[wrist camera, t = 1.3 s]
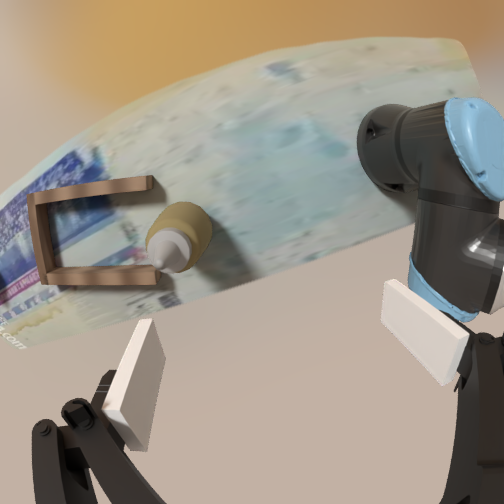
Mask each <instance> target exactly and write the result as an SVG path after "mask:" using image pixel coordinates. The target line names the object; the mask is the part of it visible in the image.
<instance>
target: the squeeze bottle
mask: <svg viewBox="0 0 504 504" xmlns="http://www.w3.org/2000/svg"><path fill="white" fill-rule="evenodd" d="M211 238H212V224H211V221H210V219H209V216H208V214H207V213H206V212H205V211H204V210H203V209H202V208H201V207H200V206H197V205H195V204H193V203H191V202H177V203H175V204H172V205H170V206H168V207H167V208H166V209H165V210H164V211H163V212H162V213H161V214H160V215H159V217H158V218H157V219H156V221H155V222H154V224H153V225H152V226H151V228H150V229H149V232H148V234H147V237H146V251H147V256H148V258H149V261H150V263H151V264H152V265H153V266H154V267H155V268H156V269H157V270H159V271H161V272H163V273H180V272H183V271H186V270H188V269H190V268H191V267H192V266H193V265H194V264H195V263H196V262H197V261H198V259H199V258H200V257H201V255H202V254H203V252H204V251H205V250H206V248H207V247H208V245H209V242H210V240H211Z"/></svg>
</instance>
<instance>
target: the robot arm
mask: <svg viewBox="0 0 504 504" xmlns="http://www.w3.org/2000/svg"><path fill="white" fill-rule="evenodd" d="M357 149H358V155H359V158H360V161H361V164H362V166H363V168H364V170H365V172H366V173H367V175H368V176H369V177H370V179H371V180H372V181H373V182H374V183H376V184H377V185H378V186H380V187H381V188H383V189H386V190H389V191H393V192H399V193H405V192H411V191H414V190H416V189H418V199H417V211H416V221H415V230H414V238H413V245H412V252H410V256H409V260H410V267H409V274H408V286H409V288H407V287H406V286H404V285H403V284H401V283H400V282H398V281H397V280H396V279H392V280H388V281H385V282H384V283H385V284H384V295H383V304H382V313H381V322H382V323H383V324H384V325H385V326H386V327H387V328H388V329H389V330H390V331H391V332H392V334H394V335H395V336H396V338H397V339H398V340H399V341H400V342H401V343H402V344H403V345H404V346H405V347H406V348H407V349H408V350H409V351H410V352H411V353H412V354H413V355H414V357H415V358H416V359H417V360H418V361H419V362H420V363H421V364H422V365H423V366H424V367H425V368H426V369H427V370H428V372H429V373H430V374H431V375H432V376H433V377H434V378H435V379H436V380H437V381H438V382H439V384H440V385H441V386H444V385H446V384H447V383H449V382H451V381H453V379H454V376H455V374H456V371H457V372H458V373H459V374H460V377H459V379H458V382H457V384H456V386H455V389H454V392H455V391H456V390H457V388H458V407H457V420H456V431H455V439H454V446H453V453H452V459H451V465H450V470H449V474H448V479H447V483H446V488H445V492H444V495H443V498H442V500H441V502H440V503H439V504H504V333H503V336H502V337H498V338H495V337H493V336H492V335H491V334H488V333H478V334H475V333H474V332H473V331H471V330H470V329H469V328H467V327H466V326H465V325H463V324H462V323H460V322H459V320H460V321H461V322H469V321H471V320H473V319H474V318H475V317H476V316H477V315H478V314H479V311H482V312H484V313H487V314H490V315H491V314H492V313H494V312H496V311H497V310H498V309H500V308H502V307H504V220H503V219H500V218H499V206H500V201H503V200H504V120H503V118H502V116H501V115H500V114H499V112H498V111H497V110H496V109H495V108H494V107H493V106H492V105H491V104H489V103H488V102H486V101H485V100H483V99H480V98H475V97H470V98H451V99H449V100H446V101H442V102H438V103H433V104H429V105H425V106H421V107H417V108H411V107H407V106H403V105H398V104H387V105H383V106H380V107H377V108H375V109H373V110H371V111H370V112H369V113H368V114H367V115H366V116H365V117H364V119H363V120H362V122H361V124H360V127H359V130H358V135H357ZM165 360H166V358H165V355H164V352H163V349H162V346H161V343H160V340H159V337H158V334H157V331H156V328H155V324H154V321H153V319H143V320H139V323H138V325H137V327H136V329H135V331H134V333H133V336H132V338H131V340H130V342H129V345H128V346H127V349H126V351H125V353H124V355H123V358H122V360H121V362H120V365H119V367H118V369H117V370H109V371H108V372H107V373H106V374H105V375H104V376H103V377H102V379H101V381H100V383H99V386H98V388H97V390H96V392H95V394H94V397H93V399H92V401H91V404H90V403H89V402H88V401H87V400H85V399H83V398H76V399H73V400H70V401H69V402H67V403H66V404H65V405H64V406H63V408H62V411H61V415H62V417H63V419H64V420H65V421H66V423H67V424H68V426H60V427H58V426H57V425H56V424H55V423H54V422H53V421H52V420H49V419H43V420H41V421H39V422H38V423H36V424H35V426H34V427H33V430H32V469H33V482H34V493H35V501H36V504H98V502H97V499H96V495H95V492H94V489H93V485H92V481H91V477H90V473H89V468H91V470H92V471H93V473H94V475H95V477H96V479H97V480H98V482H99V484H100V486H101V487H102V489H103V491H104V492H105V494H106V495H107V497H108V498H109V500H110V502H111V503H112V504H166V503H165V502H164V501H163V500H162V498H161V497H160V496H159V495H158V494H157V493H156V492H155V490H154V489H153V488H152V487H151V486H150V485H149V483H148V482H147V481H146V480H145V479H144V477H143V476H142V475H141V474H140V472H139V471H138V470H137V468H136V467H135V466H134V464H133V463H132V462H131V460H130V459H129V458H128V456H127V455H126V453H125V452H124V451H123V450H124V445H125V444H126V445H127V447H128V448H129V449H130V451H143V452H144V451H145V452H146V451H147V449H148V443H149V438H150V431H151V426H152V421H153V416H154V411H155V406H156V401H157V397H158V392H159V387H160V382H161V378H162V373H163V369H164V365H165Z"/></svg>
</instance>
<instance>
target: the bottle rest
mask: <svg viewBox="0 0 504 504" xmlns="http://www.w3.org/2000/svg"><path fill="white" fill-rule="evenodd" d="M152 188H153V179H152V175H149V176H139V177H130V178H121V179H113V180H106V181H98V182H92V183H85V184H79V185H73V186H67V187H61V188H56V189H50V190H45V191H40V192H36V193H31V194H27V206H28V215H29V223H30V230H31V236H32V242H33V248H34V253H35V258H36V263H37V268H38V272H39V276H40V280H41V284H42V285H156V284H157V282H158V281H159V279H160V277H161V271H159V270H157V269H156V268H155V267H154V266H153V265H124V266H88V267H56V263H55V258H54V253H53V247H52V242H51V235H50V228H49V221H48V213H47V203H48V202H54V201H60V200H67V199H74V198H81V197H88V196H96V195H104V194H112V193H121V192H131V191H141V190H149V189H152Z"/></svg>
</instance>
